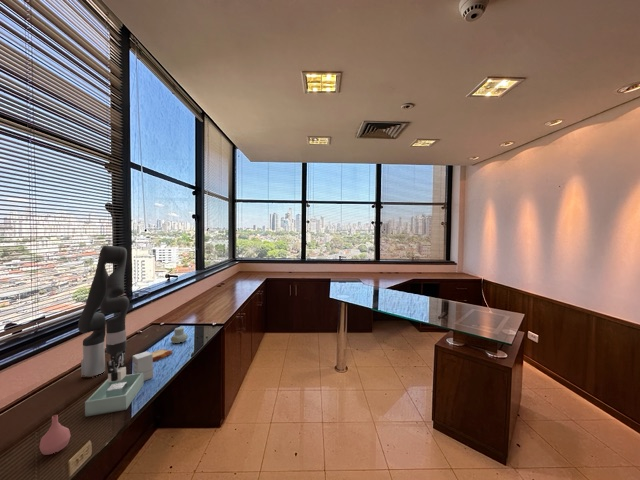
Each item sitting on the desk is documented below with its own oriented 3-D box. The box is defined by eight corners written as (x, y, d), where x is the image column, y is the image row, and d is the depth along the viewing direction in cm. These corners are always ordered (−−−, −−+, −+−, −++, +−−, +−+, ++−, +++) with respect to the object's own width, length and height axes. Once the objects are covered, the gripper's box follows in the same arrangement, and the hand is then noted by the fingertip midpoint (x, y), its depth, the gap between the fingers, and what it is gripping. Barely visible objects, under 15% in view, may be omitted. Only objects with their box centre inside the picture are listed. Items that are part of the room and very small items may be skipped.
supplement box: (148, 373, 148) (147, 350, 148) (153, 377, 143) (153, 353, 143) (132, 379, 142) (132, 355, 142) (137, 383, 137) (136, 358, 137)
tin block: (106, 402, 120) (106, 390, 120) (112, 394, 126) (112, 384, 126) (122, 399, 122) (121, 388, 122) (127, 392, 128) (127, 381, 128)
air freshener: (168, 343, 193) (168, 329, 193) (178, 339, 201) (177, 326, 201) (180, 344, 190) (180, 330, 190) (189, 340, 198) (189, 327, 198)
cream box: (108, 382, 121) (108, 373, 121) (114, 376, 126) (113, 368, 126) (120, 380, 122) (120, 371, 122) (126, 375, 127) (125, 366, 127)
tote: (85, 416, 111) (84, 402, 112) (109, 389, 132) (109, 377, 132) (126, 409, 116) (125, 395, 116) (143, 384, 136) (143, 372, 136)
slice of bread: (133, 368, 156) (133, 361, 156) (142, 356, 173) (142, 350, 173) (168, 362, 162) (168, 356, 163) (173, 351, 179) (173, 345, 179)
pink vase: (51, 461, 88) (50, 424, 88) (33, 458, 90) (32, 422, 90) (76, 443, 96) (75, 410, 96) (59, 441, 97) (58, 408, 98)
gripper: (113, 336, 130) (114, 372, 130) (98, 347, 116) (99, 387, 116) (131, 334, 132) (132, 369, 132) (119, 345, 118) (120, 383, 118)
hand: (117, 377), depth 124 cm, fingers closed on cream box, 5 cm apart
